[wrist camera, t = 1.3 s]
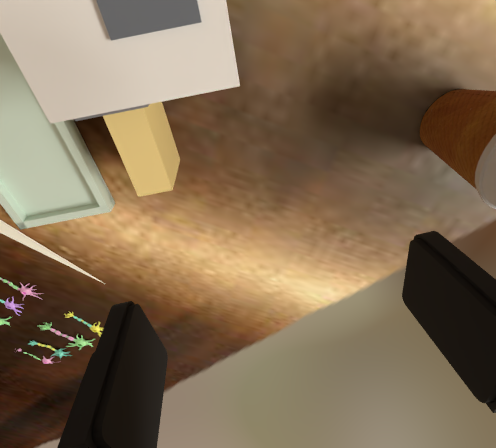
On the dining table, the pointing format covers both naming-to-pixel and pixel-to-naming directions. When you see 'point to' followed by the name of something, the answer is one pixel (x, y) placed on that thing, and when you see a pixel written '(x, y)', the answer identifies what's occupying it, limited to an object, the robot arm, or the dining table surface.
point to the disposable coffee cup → (465, 137)
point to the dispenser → (118, 52)
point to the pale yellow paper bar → (146, 147)
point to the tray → (42, 159)
